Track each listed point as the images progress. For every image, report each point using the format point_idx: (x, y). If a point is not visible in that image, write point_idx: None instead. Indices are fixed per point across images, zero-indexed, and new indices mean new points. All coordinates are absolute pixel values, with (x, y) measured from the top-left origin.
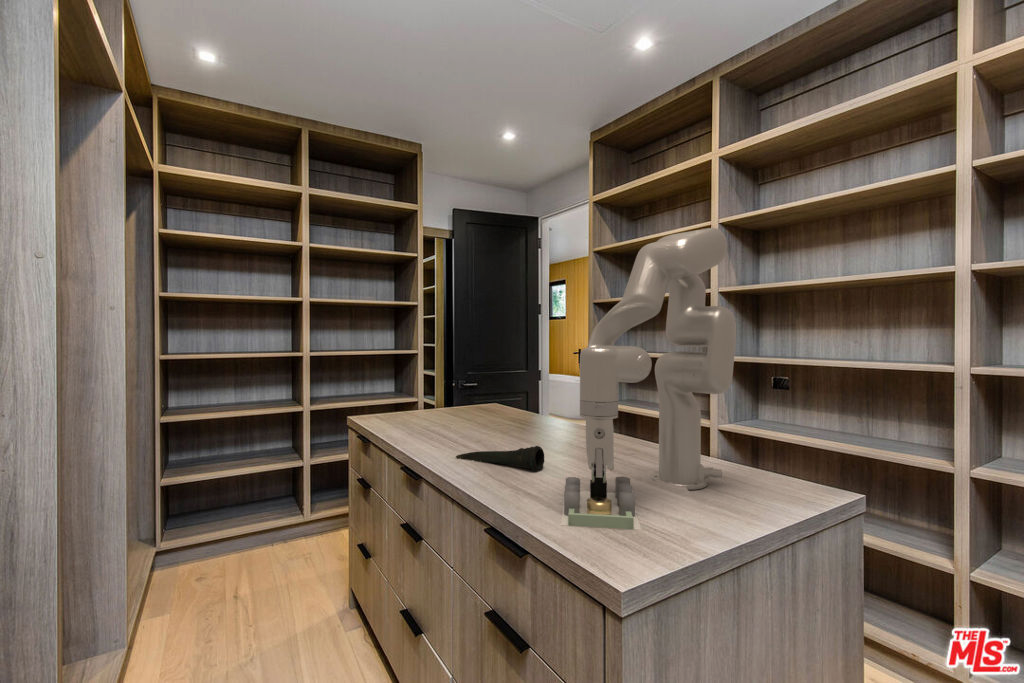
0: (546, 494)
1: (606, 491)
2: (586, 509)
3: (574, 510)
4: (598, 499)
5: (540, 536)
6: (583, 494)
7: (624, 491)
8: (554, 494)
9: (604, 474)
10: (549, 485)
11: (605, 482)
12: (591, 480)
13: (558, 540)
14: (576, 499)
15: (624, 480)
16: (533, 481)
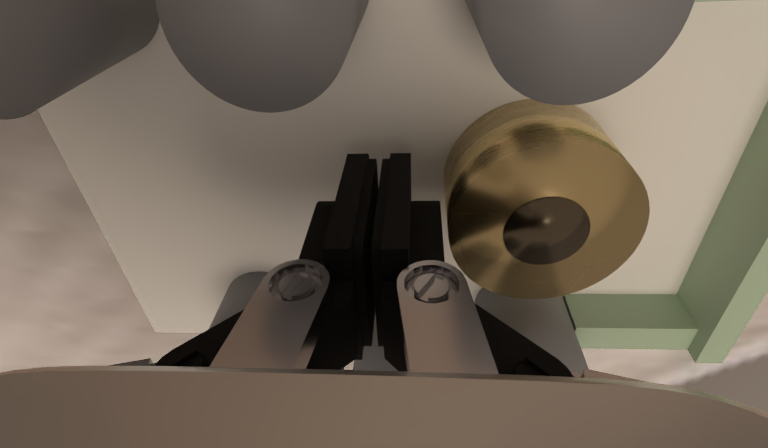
0: None
1: (409, 199)
2: (443, 242)
3: (570, 318)
4: (526, 238)
5: (697, 369)
6: (176, 255)
7: (492, 36)
8: (172, 344)
9: (485, 359)
10: (56, 363)
11: (462, 274)
12: (360, 353)
13: (760, 319)
14: (586, 364)
15: (21, 12)
16: None
